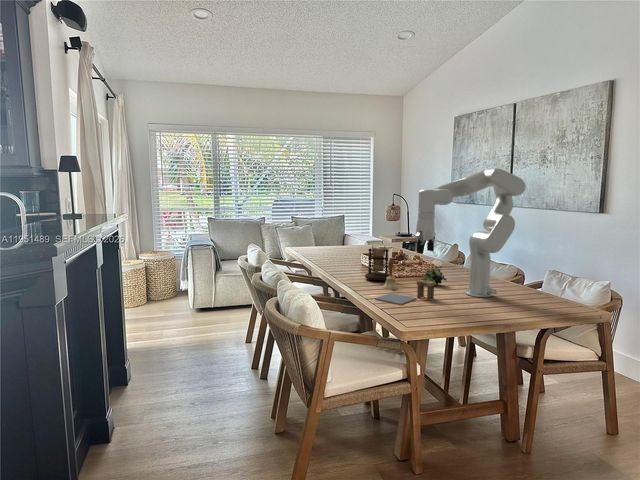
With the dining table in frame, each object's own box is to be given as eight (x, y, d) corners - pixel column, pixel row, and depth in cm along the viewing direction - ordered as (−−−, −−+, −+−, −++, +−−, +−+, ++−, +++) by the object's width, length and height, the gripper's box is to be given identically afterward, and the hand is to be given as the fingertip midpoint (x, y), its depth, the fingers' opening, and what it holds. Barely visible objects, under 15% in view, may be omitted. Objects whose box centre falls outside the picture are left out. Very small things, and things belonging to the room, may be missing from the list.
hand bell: (398, 289, 216) (399, 259, 214) (382, 289, 218) (382, 258, 216) (398, 286, 224) (399, 257, 223) (382, 285, 226) (383, 256, 224)
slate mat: (416, 299, 198) (416, 298, 198) (401, 305, 187) (401, 303, 187) (391, 294, 207) (391, 293, 207) (375, 299, 197) (375, 298, 197)
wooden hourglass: (390, 277, 247) (391, 244, 245) (391, 283, 232) (392, 247, 230) (365, 276, 249) (366, 243, 247) (364, 282, 234) (365, 246, 232)
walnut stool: (434, 298, 200) (435, 282, 199) (429, 300, 196) (430, 283, 195) (421, 295, 204) (421, 279, 203) (416, 297, 201) (416, 281, 200)
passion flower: (436, 293, 231) (450, 277, 228) (431, 294, 221) (446, 277, 219) (420, 280, 236) (434, 264, 233) (415, 280, 226) (429, 263, 223)
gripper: (428, 214, 205) (427, 249, 207) (409, 216, 192) (408, 253, 194) (442, 215, 200) (441, 250, 202) (424, 217, 187) (423, 254, 189)
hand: (425, 251), depth 198 cm, fingers open, 9 cm apart
